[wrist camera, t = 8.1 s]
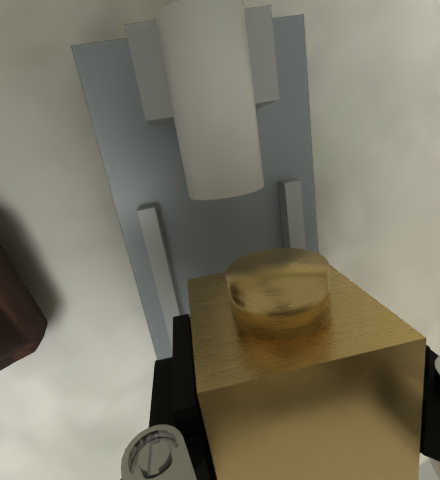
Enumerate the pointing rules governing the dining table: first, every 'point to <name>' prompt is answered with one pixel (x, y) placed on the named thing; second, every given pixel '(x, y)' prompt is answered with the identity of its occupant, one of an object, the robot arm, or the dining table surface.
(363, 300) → the coupler
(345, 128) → the dining table surface
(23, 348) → the dark brown l-shaped piece
